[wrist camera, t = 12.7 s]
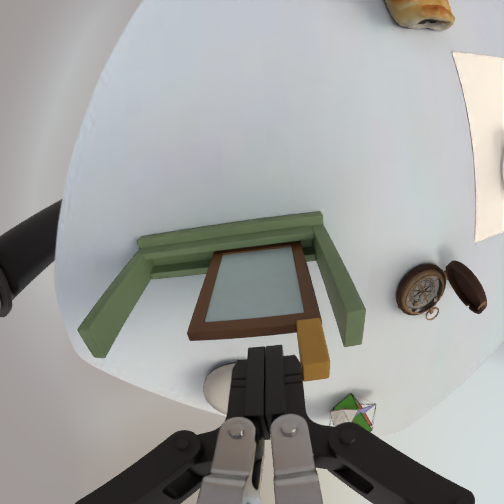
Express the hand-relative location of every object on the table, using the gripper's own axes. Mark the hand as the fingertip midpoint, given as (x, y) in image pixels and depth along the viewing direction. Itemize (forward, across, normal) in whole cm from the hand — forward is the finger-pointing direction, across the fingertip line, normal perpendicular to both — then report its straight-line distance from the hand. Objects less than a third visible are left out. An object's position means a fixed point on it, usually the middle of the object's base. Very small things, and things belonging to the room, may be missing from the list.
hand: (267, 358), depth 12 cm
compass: (+13, -17, +8) cm, 23 cm away
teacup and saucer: (+13, -31, -8) cm, 35 cm away
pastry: (+13, -16, -22) cm, 30 cm away
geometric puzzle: (+13, -9, +27) cm, 31 cm away
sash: (+12, +1, 0) cm, 12 cm away
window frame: (+13, +3, 0) cm, 14 cm away
